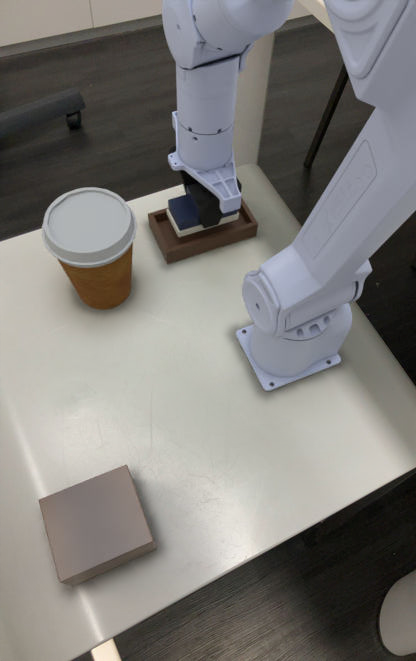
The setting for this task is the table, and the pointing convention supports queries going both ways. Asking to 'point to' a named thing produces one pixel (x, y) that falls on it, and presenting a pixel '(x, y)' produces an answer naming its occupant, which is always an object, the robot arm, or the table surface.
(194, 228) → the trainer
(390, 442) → the table surface
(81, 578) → the grey brown block
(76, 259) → the disposable coffee cup
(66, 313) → the table surface
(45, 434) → the table surface
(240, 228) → the brown wooden tray
